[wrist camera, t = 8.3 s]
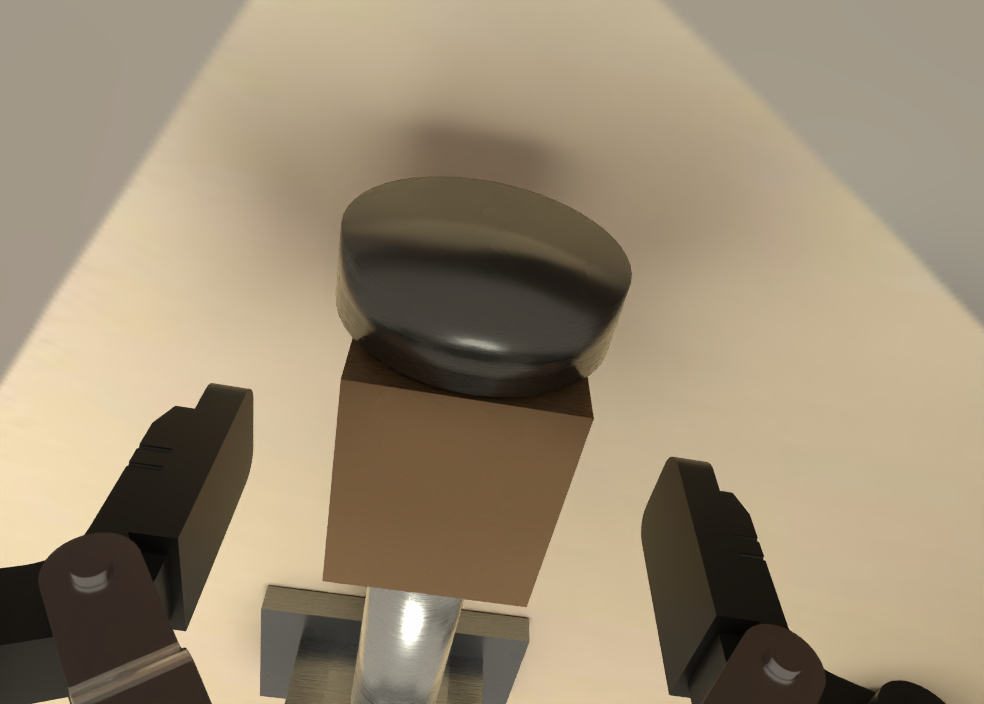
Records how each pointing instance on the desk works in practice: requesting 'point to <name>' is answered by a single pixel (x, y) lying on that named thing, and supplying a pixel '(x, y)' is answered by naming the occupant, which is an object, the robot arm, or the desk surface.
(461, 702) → the square loop bracket
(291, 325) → the desk surface
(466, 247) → the metal rod with knob
